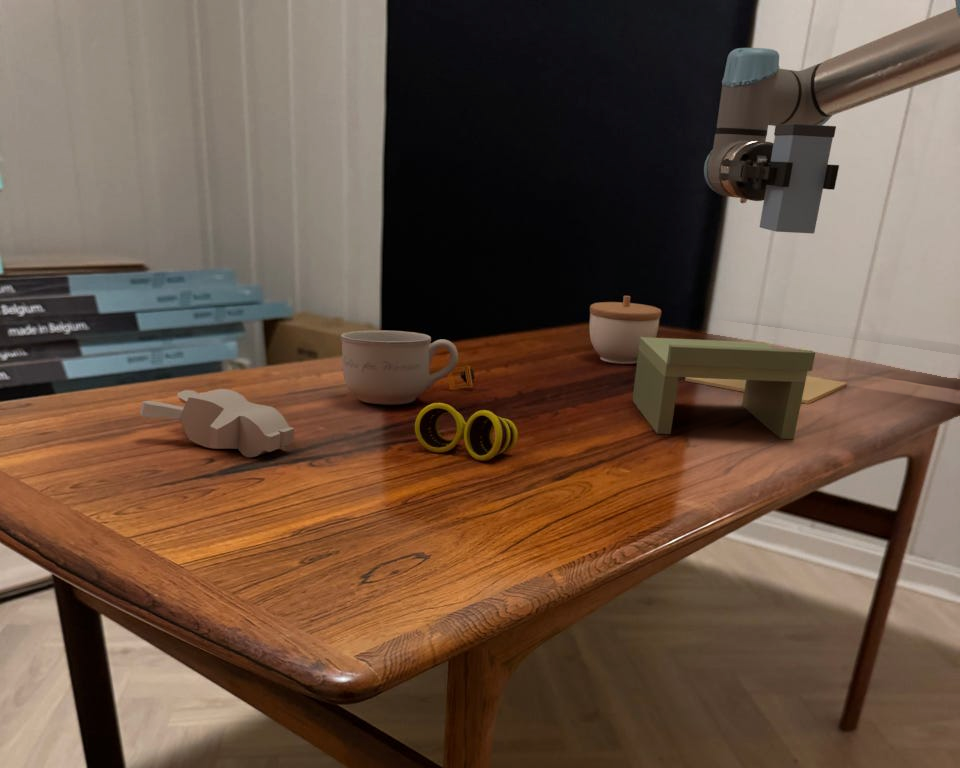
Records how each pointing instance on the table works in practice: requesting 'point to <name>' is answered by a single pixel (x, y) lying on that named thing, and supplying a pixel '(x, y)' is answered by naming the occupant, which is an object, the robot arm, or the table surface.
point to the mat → (812, 391)
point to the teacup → (391, 365)
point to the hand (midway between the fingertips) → (810, 176)
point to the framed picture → (463, 377)
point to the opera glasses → (466, 432)
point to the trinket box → (621, 329)
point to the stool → (765, 369)
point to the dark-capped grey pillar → (798, 177)
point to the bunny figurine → (225, 421)
